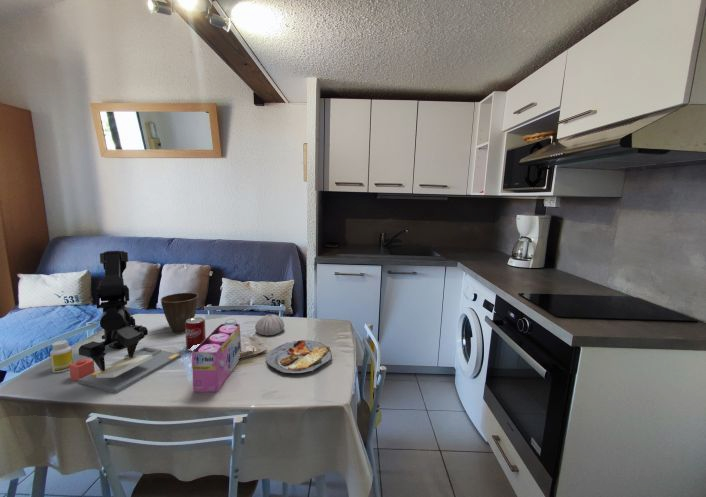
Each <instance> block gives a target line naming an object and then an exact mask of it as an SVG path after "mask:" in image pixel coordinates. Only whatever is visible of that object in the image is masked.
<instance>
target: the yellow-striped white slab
mask: <svg viewBox="0 0 706 497" xmlns="http://www.w3.org/2000/svg"><path fill="white" fill-rule="evenodd" d="M152 358H153V357H152V355H136V356H133V357H132V358H129V359H127V360H125V361H122V362H120V363H118V364H116V365H114V366H112V367H110V368H108V369H106V370H105V371H101V372H100V373H98V374H96V377H97V378H113V377H116V376H118V375H120V374H122V373H124V372H126V371H128V370H130V369H132V368H134V367H136V366H138V365H140V364H142V363H144V362H146V361H148V360H150V359H152Z"/></svg>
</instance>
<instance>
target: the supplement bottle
mask: <svg viewBox="0 0 706 497" xmlns="http://www.w3.org/2000/svg"><path fill="white" fill-rule="evenodd" d="M51 346H52V349H51V351H50V352H49V355H50V356H49V357H50V364H51V372H53V373H55V374H56V373H63V372H66V371H69V365H70V364H72V363H74V362H73V351H72V347H71V346H70V345H69V340H68V339H67V340H66V339H65V340H58V341H55V342H53V343H52V344H51Z"/></svg>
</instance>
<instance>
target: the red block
mask: <svg viewBox="0 0 706 497" xmlns="http://www.w3.org/2000/svg"><path fill="white" fill-rule="evenodd" d="M68 371H69V379H71V380H74V381H78V382H79V380H78V379H80V378H83V377H85V376H87V375H89V374H91V373H93V372H95V371H96V370H95V362H94V361H93V359H88V358H83V359H79V360H77V361H75V362H73V363H72V364H70V365H69V370H68Z"/></svg>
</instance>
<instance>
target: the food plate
mask: <svg viewBox="0 0 706 497" xmlns="http://www.w3.org/2000/svg"><path fill="white" fill-rule="evenodd" d="M330 348H331V347H330V346H327V345H325V344H323V343H322V342H319V341H315V340H307V339H304V340H303V339H302V340H301V339H300V340H294V341H290V342H286V343H283V344H281V345H278V346H276V347H274V348H273V349H271V350H270V351H268V352H267V354H266V356H265V359H266V362H267V364H268V365H269V366H270V367H271V368H273V369H275V370H277V371H280V372H281V373H287V374H288V373H290V374H291V373H292V374H301V373H302V374H303V373H308V372H313V371H314V370H316V369H317V368H319V367H322V366H323V365H324V364H326V363H327V362H329V361H330V360H331V359H332V358H333V355H332V350H331V349H330ZM287 366H288V367H287ZM286 367H287V368H286Z"/></svg>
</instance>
